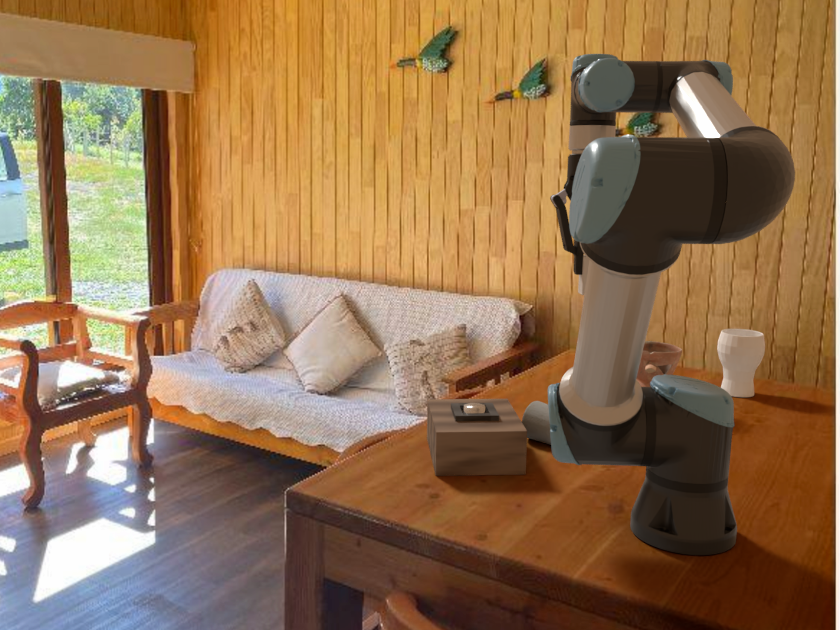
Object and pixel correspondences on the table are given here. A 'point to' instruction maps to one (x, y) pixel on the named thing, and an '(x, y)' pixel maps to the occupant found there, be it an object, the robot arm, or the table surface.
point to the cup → (740, 359)
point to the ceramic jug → (657, 361)
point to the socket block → (475, 438)
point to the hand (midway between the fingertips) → (584, 293)
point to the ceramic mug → (537, 422)
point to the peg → (474, 408)
